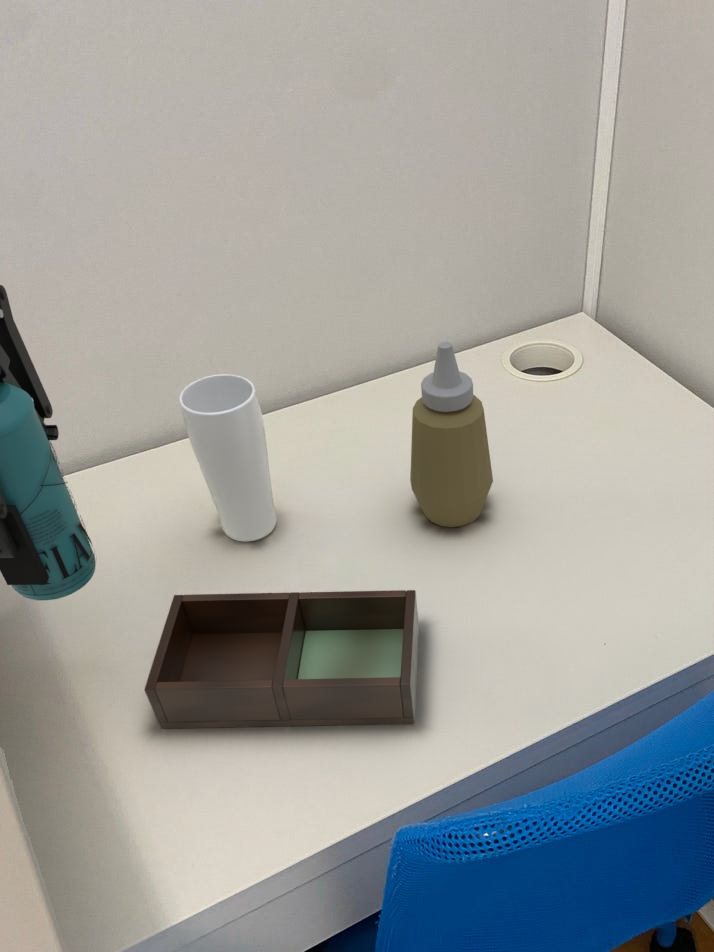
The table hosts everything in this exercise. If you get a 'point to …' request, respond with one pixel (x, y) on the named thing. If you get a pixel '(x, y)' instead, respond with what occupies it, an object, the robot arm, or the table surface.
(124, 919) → the table surface
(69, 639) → the table surface
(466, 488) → the squeeze bottle
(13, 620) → the table surface
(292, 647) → the divided box
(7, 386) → the beverage bottle
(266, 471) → the drinking glass
